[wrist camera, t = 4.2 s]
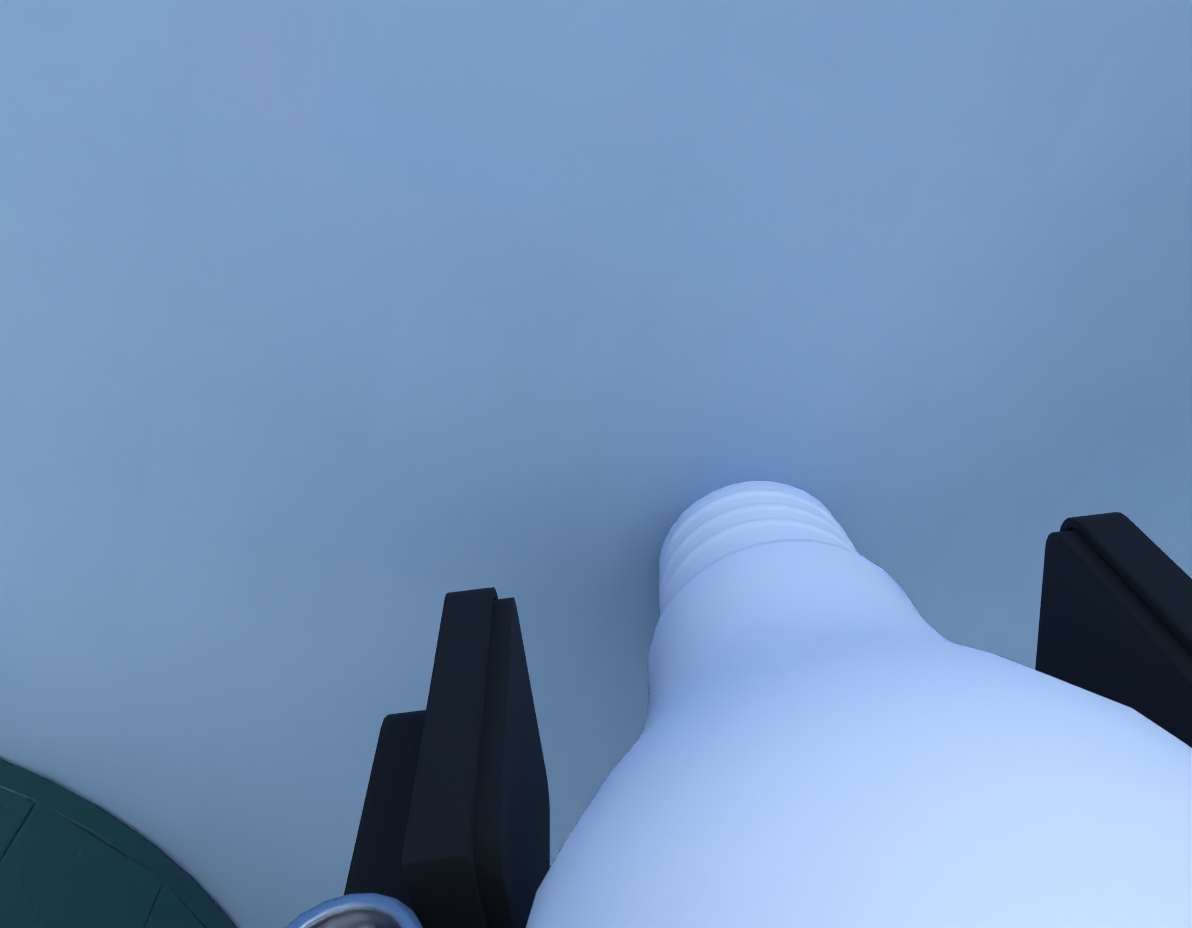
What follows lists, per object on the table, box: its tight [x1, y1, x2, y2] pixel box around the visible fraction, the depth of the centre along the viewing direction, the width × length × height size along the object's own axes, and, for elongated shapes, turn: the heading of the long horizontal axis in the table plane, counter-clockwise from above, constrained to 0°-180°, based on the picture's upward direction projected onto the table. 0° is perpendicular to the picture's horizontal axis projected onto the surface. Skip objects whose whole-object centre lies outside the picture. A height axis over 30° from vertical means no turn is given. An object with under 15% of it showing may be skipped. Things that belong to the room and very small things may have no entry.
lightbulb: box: [526, 481, 1192, 928], centre depth 10 cm, size 6×6×11 cm
